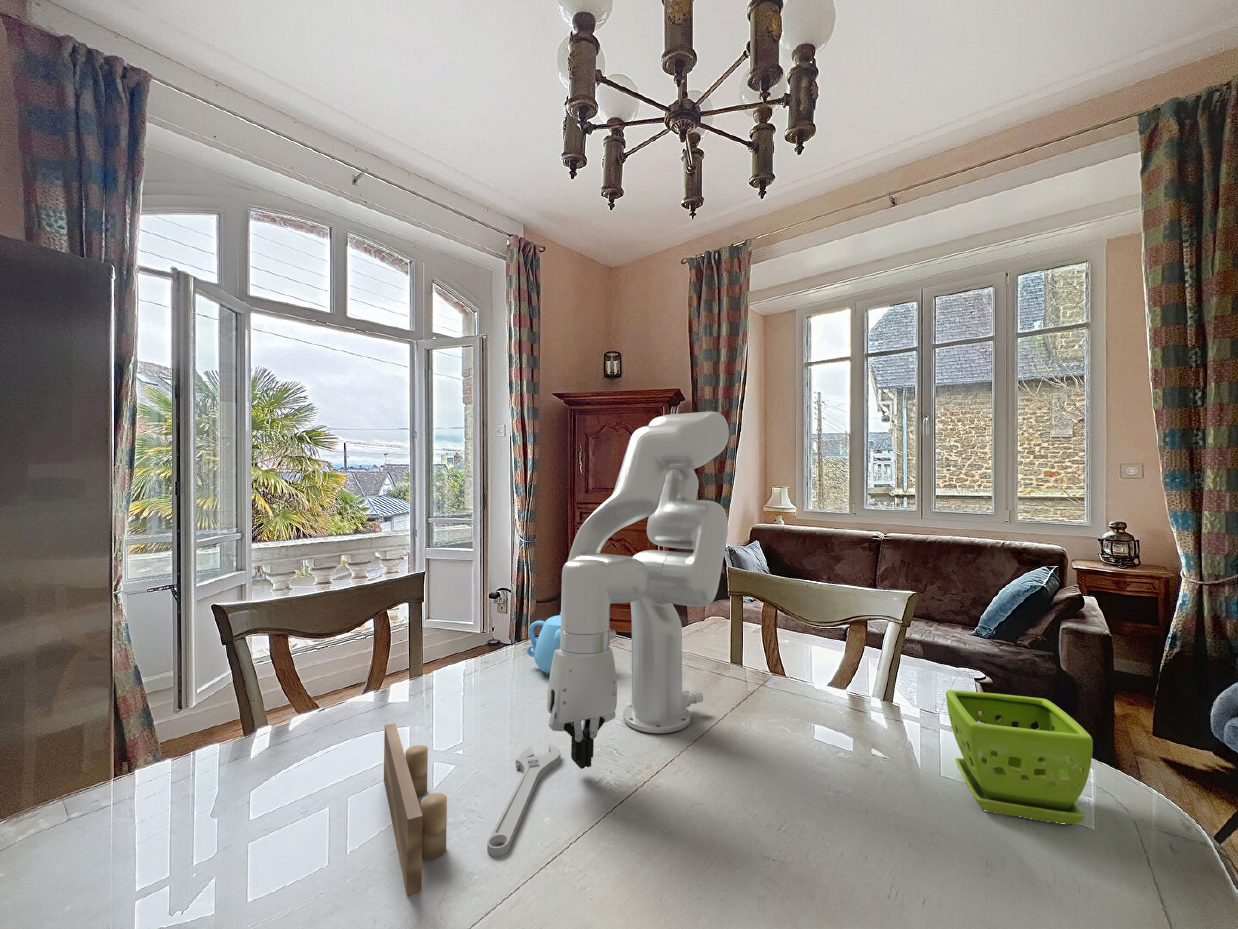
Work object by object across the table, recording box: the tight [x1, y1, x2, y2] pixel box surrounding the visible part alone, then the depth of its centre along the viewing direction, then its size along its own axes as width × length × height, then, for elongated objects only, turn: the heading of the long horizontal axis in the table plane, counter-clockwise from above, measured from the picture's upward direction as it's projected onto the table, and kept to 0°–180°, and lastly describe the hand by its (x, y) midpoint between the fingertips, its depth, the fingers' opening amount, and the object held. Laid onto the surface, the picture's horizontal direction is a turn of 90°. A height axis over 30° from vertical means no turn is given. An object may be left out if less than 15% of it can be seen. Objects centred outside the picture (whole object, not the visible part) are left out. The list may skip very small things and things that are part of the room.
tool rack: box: [383, 722, 448, 896], centre depth 71 cm, size 5×26×8 cm, turn 29°
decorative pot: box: [526, 611, 561, 676], centre depth 130 cm, size 16×16×14 cm
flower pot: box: [945, 689, 1094, 826], centre depth 76 cm, size 14×14×13 cm
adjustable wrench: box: [486, 744, 561, 857], centre depth 77 cm, size 25×6×2 cm, turn 170°
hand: (582, 763), depth 82 cm, fingers closed
